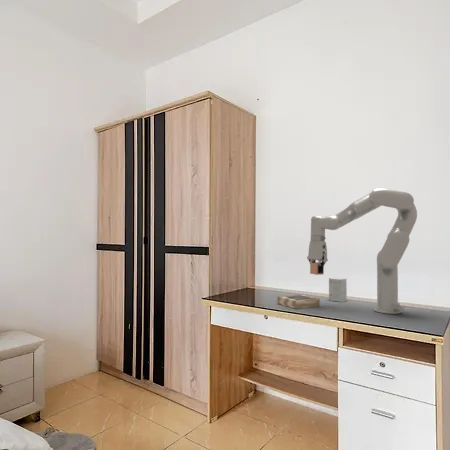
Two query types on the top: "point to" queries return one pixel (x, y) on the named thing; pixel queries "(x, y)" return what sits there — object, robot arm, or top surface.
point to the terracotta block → (315, 268)
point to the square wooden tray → (298, 301)
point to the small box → (337, 289)
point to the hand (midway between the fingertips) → (316, 272)
